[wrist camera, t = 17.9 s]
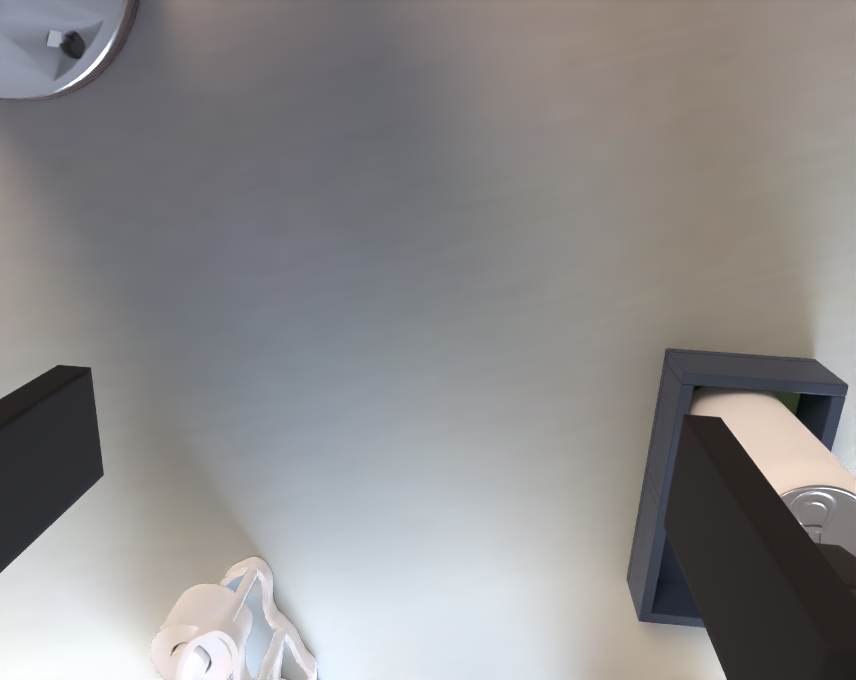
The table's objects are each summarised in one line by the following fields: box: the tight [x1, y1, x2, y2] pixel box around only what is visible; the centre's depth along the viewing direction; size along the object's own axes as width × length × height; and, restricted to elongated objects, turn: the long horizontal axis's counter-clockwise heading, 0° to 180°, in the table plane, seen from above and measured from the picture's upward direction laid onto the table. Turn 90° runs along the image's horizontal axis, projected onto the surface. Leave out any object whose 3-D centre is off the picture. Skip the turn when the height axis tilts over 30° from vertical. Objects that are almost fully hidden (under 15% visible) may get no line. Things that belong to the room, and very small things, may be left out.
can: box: [689, 386, 856, 557], centre depth 36 cm, size 6×6×12 cm
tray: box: [627, 349, 848, 628], centre depth 42 cm, size 17×9×4 cm, turn 177°
